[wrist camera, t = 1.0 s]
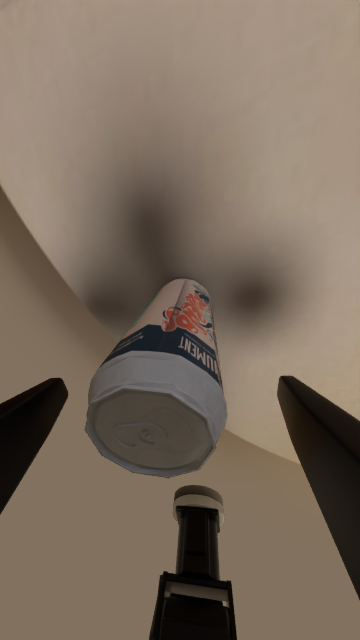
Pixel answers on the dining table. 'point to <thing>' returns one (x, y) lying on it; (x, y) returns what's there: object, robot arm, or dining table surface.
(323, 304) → the dining table surface
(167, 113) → the dining table surface
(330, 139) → the dining table surface
